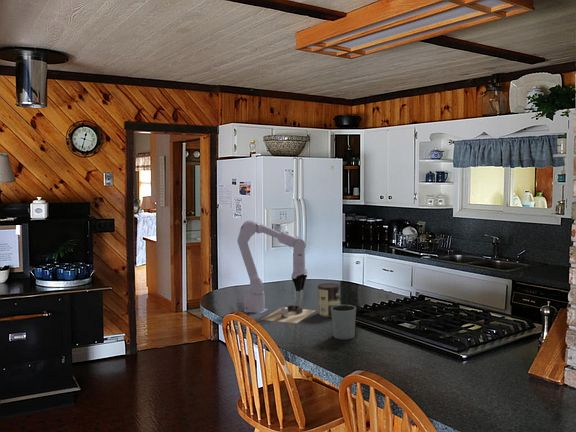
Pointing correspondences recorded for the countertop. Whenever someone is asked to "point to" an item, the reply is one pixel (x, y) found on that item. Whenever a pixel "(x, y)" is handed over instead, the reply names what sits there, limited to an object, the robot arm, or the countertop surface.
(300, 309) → the c ring
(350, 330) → the grey cup
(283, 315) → the piston post
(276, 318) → the board
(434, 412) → the countertop surface
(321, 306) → the coffee can
